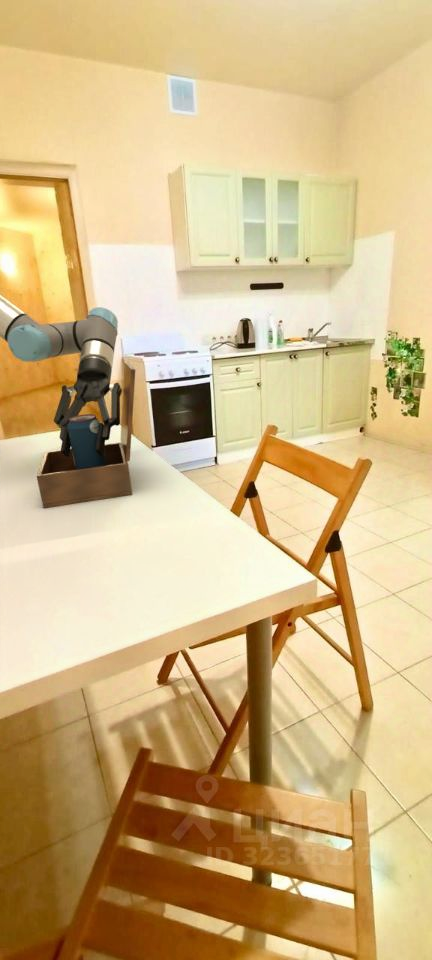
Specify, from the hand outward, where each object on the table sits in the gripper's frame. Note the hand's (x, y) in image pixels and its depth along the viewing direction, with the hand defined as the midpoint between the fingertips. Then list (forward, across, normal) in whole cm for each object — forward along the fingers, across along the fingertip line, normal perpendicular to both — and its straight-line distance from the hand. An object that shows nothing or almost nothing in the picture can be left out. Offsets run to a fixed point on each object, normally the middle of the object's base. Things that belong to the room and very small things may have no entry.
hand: (82, 453), depth 96 cm
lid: (-9, -10, +3) cm, 13 cm away
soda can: (+1, 0, -6) cm, 6 cm away
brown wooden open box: (+5, 0, -6) cm, 8 cm away
